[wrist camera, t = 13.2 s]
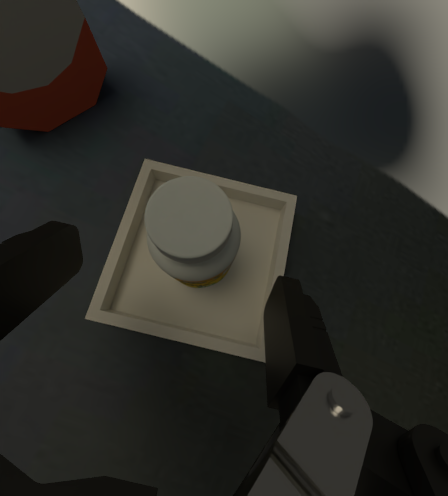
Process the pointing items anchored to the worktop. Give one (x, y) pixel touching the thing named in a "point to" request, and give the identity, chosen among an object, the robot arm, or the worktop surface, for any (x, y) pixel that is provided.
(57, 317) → the worktop surface
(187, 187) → the supplement bottle
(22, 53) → the french fries container
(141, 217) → the tray
